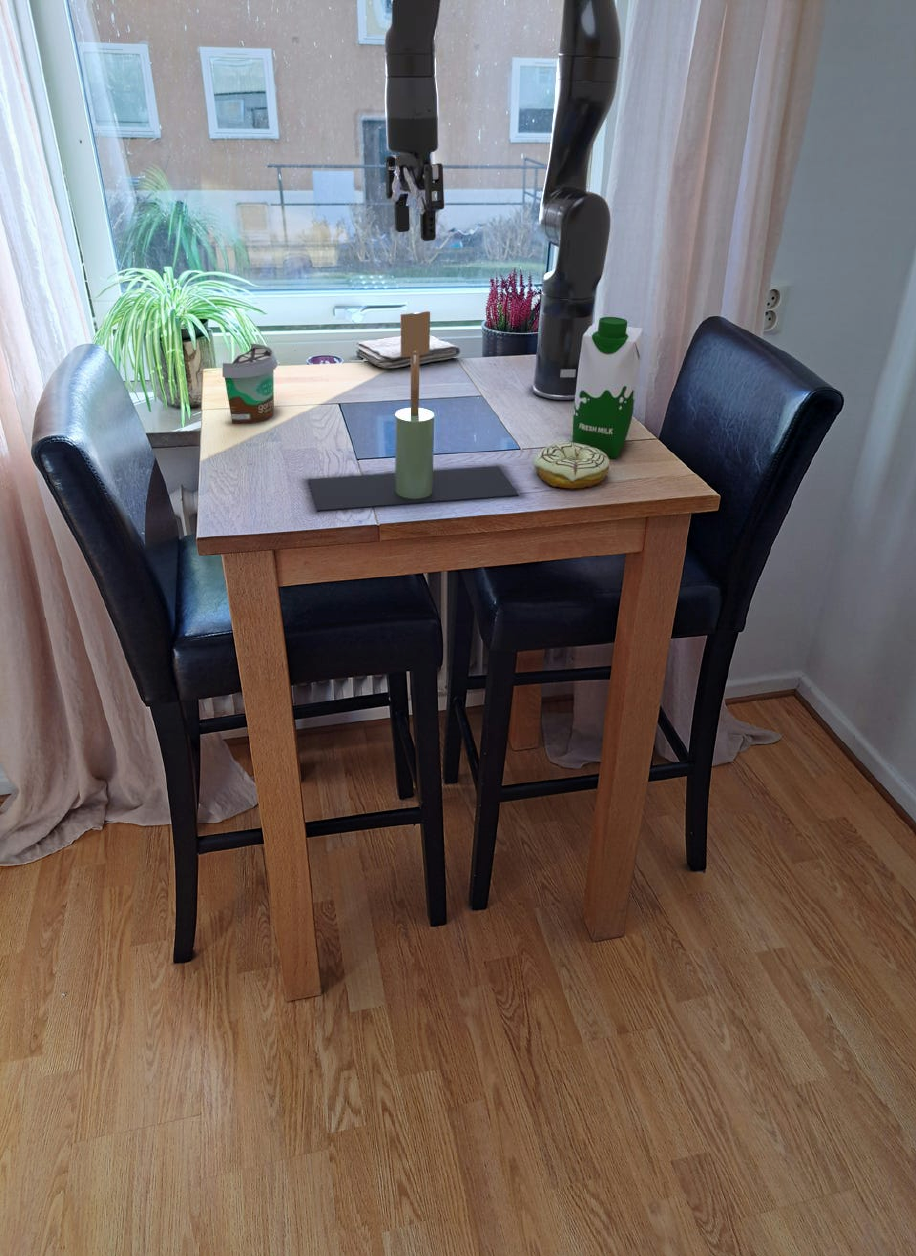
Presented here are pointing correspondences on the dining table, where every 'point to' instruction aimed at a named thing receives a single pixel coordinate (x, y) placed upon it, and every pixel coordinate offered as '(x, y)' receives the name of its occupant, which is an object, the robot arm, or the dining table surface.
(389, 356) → the washcloth
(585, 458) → the decorated donut
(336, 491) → the mat
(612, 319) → the milk carton
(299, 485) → the dining table surface
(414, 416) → the spatula crock
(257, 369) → the food container
